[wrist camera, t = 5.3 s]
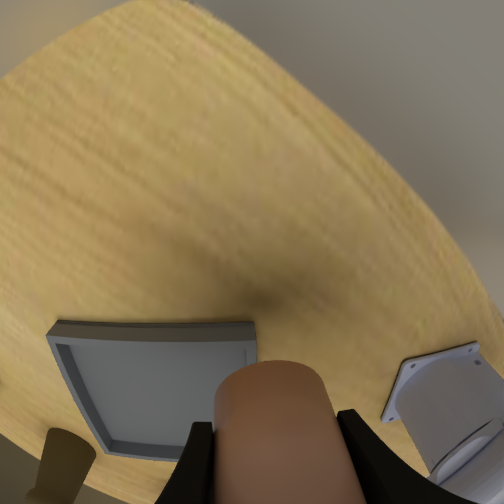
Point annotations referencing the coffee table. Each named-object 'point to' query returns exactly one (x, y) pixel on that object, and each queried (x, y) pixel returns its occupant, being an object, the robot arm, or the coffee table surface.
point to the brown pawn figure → (61, 468)
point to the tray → (148, 379)
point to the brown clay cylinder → (279, 440)
